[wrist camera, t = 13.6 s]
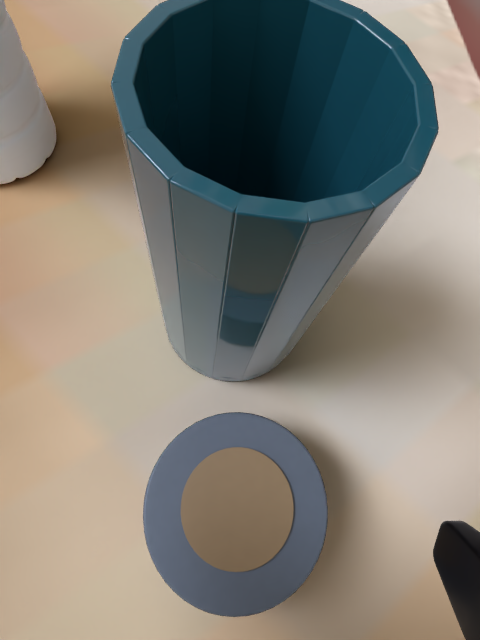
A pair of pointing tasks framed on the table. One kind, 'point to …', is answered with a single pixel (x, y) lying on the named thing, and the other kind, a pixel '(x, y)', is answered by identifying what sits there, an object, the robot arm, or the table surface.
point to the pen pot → (263, 163)
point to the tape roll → (235, 514)
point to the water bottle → (20, 109)
